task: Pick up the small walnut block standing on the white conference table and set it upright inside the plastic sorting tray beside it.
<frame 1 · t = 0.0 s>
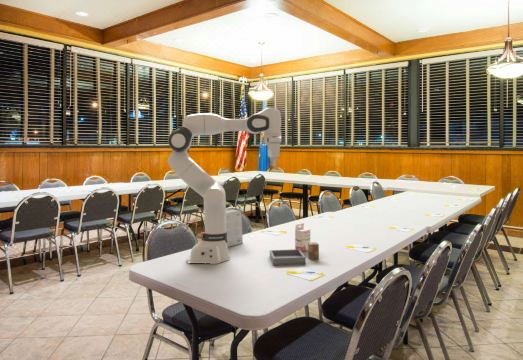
hand: (273, 166, 209), 48 cm above the table, fingers open, 8 cm apart
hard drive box: (229, 245, 242), on the table
walnut block: (313, 258, 208), on the table
sorting tray: (287, 260, 205), on the table
ink cartridge box: (303, 250, 225), on the table
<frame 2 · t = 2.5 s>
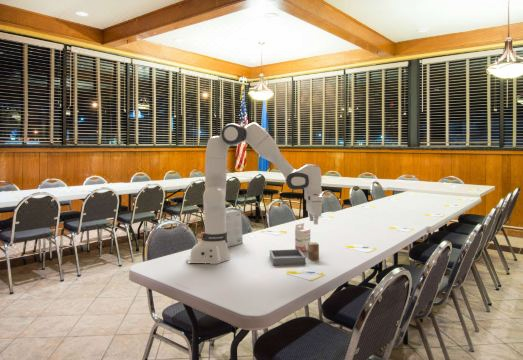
hand: (313, 222, 206), 19 cm above the table, fingers open, 8 cm apart
nothing on the table moved.
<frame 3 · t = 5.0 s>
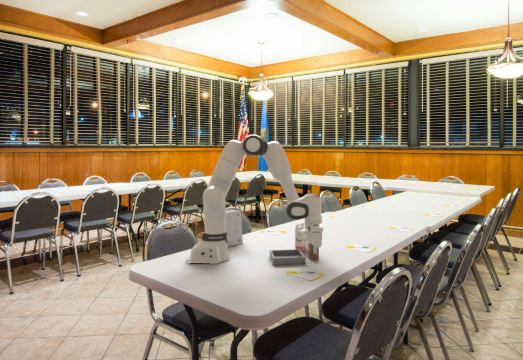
hand: (313, 251, 207), 4 cm above the table, fingers closed on walnut block, 4 cm apart
walnut block: (313, 258, 208), on the table, touching gripper
everything else where it was.
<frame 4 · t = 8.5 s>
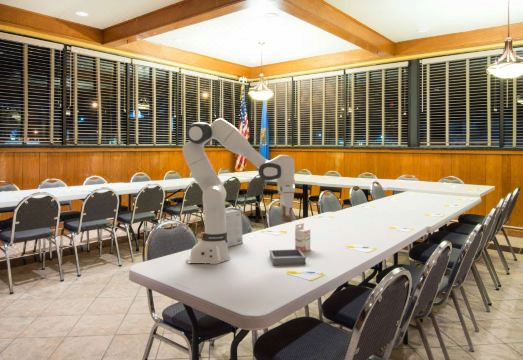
hand: (286, 214, 204), 24 cm above the table, fingers closed on walnut block, 4 cm apart
walnut block: (286, 221, 204), point 20 cm above the table, touching gripper
everything else where it was.
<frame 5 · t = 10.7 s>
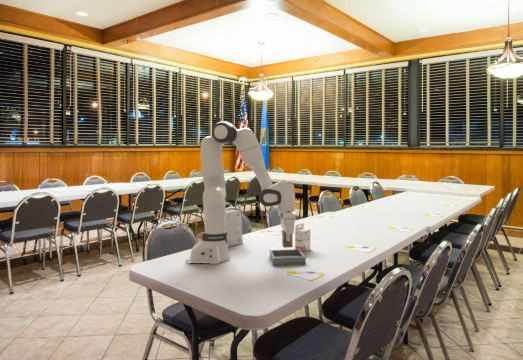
hand: (287, 239, 205), 11 cm above the table, fingers closed on walnut block, 4 cm apart
walnut block: (287, 246, 205), point 7 cm above the table, touching gripper
everything else where it was.
when the fingers open (6 cm above the table, at t = 12.5 s): walnut block drops 1 cm, resting on sorting tray.
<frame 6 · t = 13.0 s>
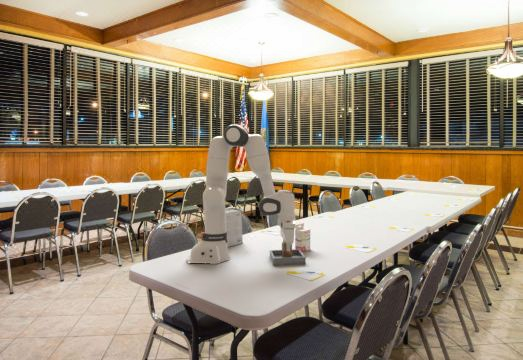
hand: (286, 248, 205), 6 cm above the table, fingers open, 8 cm apart
walnut block: (287, 258, 205), point 1 cm above the table, touching sorting tray
everything else where it was.
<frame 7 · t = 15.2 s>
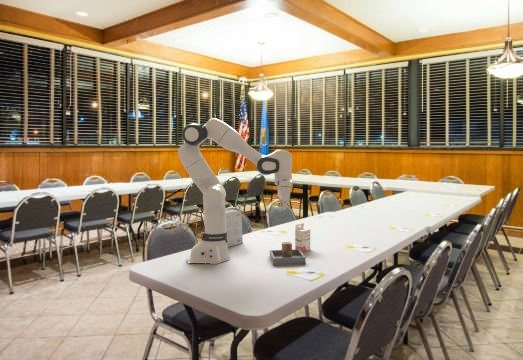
hand: (283, 208, 207), 26 cm above the table, fingers open, 8 cm apart
nothing on the table moved.
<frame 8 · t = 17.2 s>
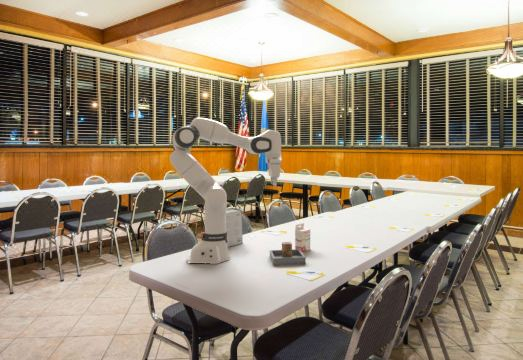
hand: (273, 185, 220), 37 cm above the table, fingers open, 8 cm apart
nothing on the table moved.
at the end: walnut block inside the target area on the sorting tray (0.0 cm from its centre), point 1.0 cm above the sorting tray's base; walnut block tilted 0°; the gripper is holding nothing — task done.
